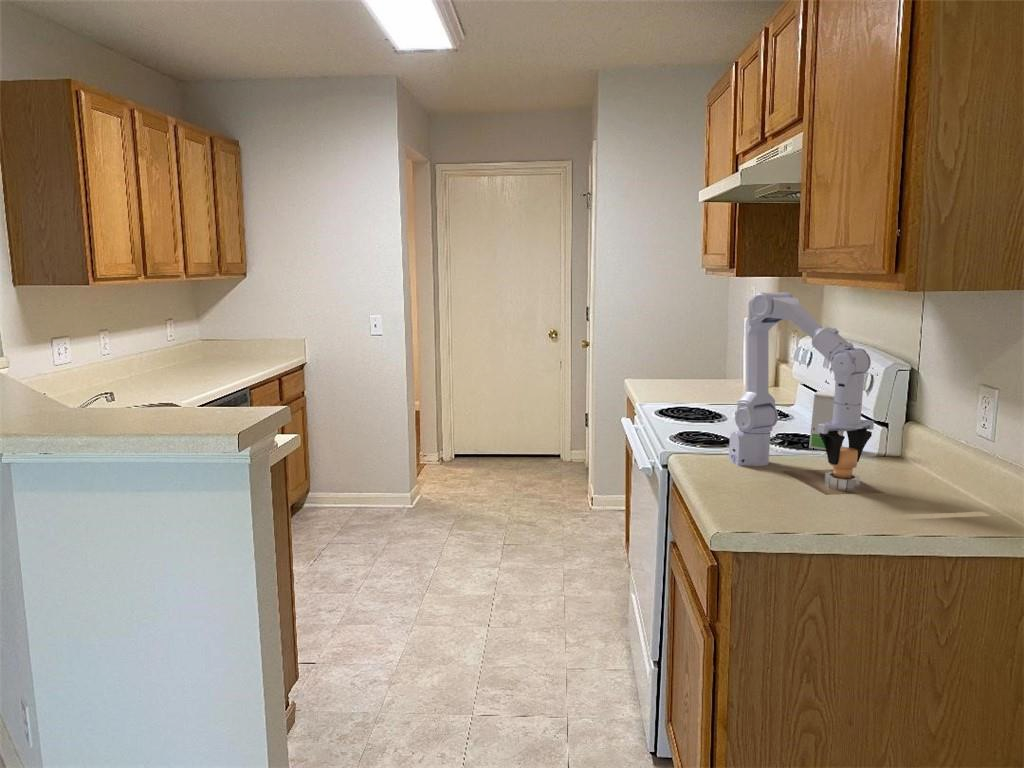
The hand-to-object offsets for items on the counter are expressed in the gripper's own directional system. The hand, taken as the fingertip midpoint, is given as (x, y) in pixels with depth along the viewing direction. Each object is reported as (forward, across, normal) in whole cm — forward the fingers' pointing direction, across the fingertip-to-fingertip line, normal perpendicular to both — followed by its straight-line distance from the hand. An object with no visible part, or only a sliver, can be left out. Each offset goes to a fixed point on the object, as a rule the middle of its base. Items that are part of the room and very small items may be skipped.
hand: (843, 462), depth 174 cm
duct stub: (+6, 0, 0) cm, 6 cm away
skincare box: (+7, +28, +34) cm, 44 cm away
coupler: (+3, 0, 0) cm, 3 cm away
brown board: (+6, +1, +4) cm, 8 cm away
